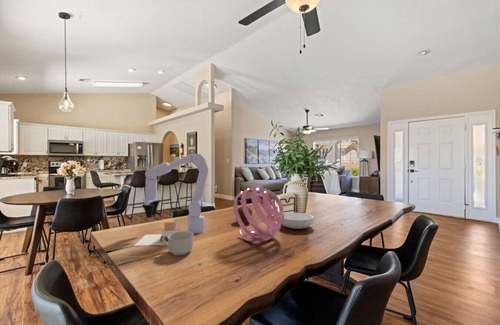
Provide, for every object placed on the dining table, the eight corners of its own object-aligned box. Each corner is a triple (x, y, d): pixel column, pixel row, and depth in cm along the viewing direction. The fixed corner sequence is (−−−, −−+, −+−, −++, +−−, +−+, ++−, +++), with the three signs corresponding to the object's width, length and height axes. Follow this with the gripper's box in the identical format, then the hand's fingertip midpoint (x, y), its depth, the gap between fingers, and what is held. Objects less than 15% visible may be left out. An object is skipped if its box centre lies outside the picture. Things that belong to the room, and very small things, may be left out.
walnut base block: (180, 236, 126) (180, 231, 126) (177, 241, 118) (177, 236, 118) (164, 236, 125) (164, 231, 125) (160, 241, 117) (160, 236, 117)
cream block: (179, 231, 125) (179, 227, 125) (176, 236, 118) (176, 231, 118) (165, 232, 124) (165, 227, 124) (161, 236, 117) (161, 231, 117)
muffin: (245, 225, 148) (245, 209, 147) (231, 223, 154) (231, 207, 153) (255, 221, 157) (255, 206, 157) (242, 219, 164) (242, 204, 163)
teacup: (198, 250, 108) (198, 232, 108) (183, 259, 98) (183, 240, 97) (172, 246, 112) (172, 229, 112) (156, 255, 102) (156, 236, 102)
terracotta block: (175, 227, 124) (175, 220, 124) (173, 230, 119) (173, 222, 119) (166, 228, 123) (166, 220, 123) (164, 230, 119) (164, 222, 119)
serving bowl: (318, 225, 149) (318, 214, 148) (306, 234, 131) (306, 221, 131) (286, 221, 160) (287, 210, 160) (272, 228, 142) (272, 217, 142)
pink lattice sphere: (213, 199, 127) (249, 172, 114) (248, 205, 147) (282, 182, 134) (226, 252, 112) (268, 227, 100) (262, 250, 132) (302, 229, 120)
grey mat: (183, 234, 130) (183, 233, 130) (177, 245, 114) (177, 244, 114) (145, 235, 128) (145, 234, 128) (133, 246, 112) (133, 245, 112)
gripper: (148, 189, 135) (148, 213, 135) (138, 192, 120) (138, 219, 121) (161, 189, 135) (161, 212, 136) (153, 192, 121) (153, 219, 121)
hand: (151, 216), depth 128 cm, fingers open, 7 cm apart
